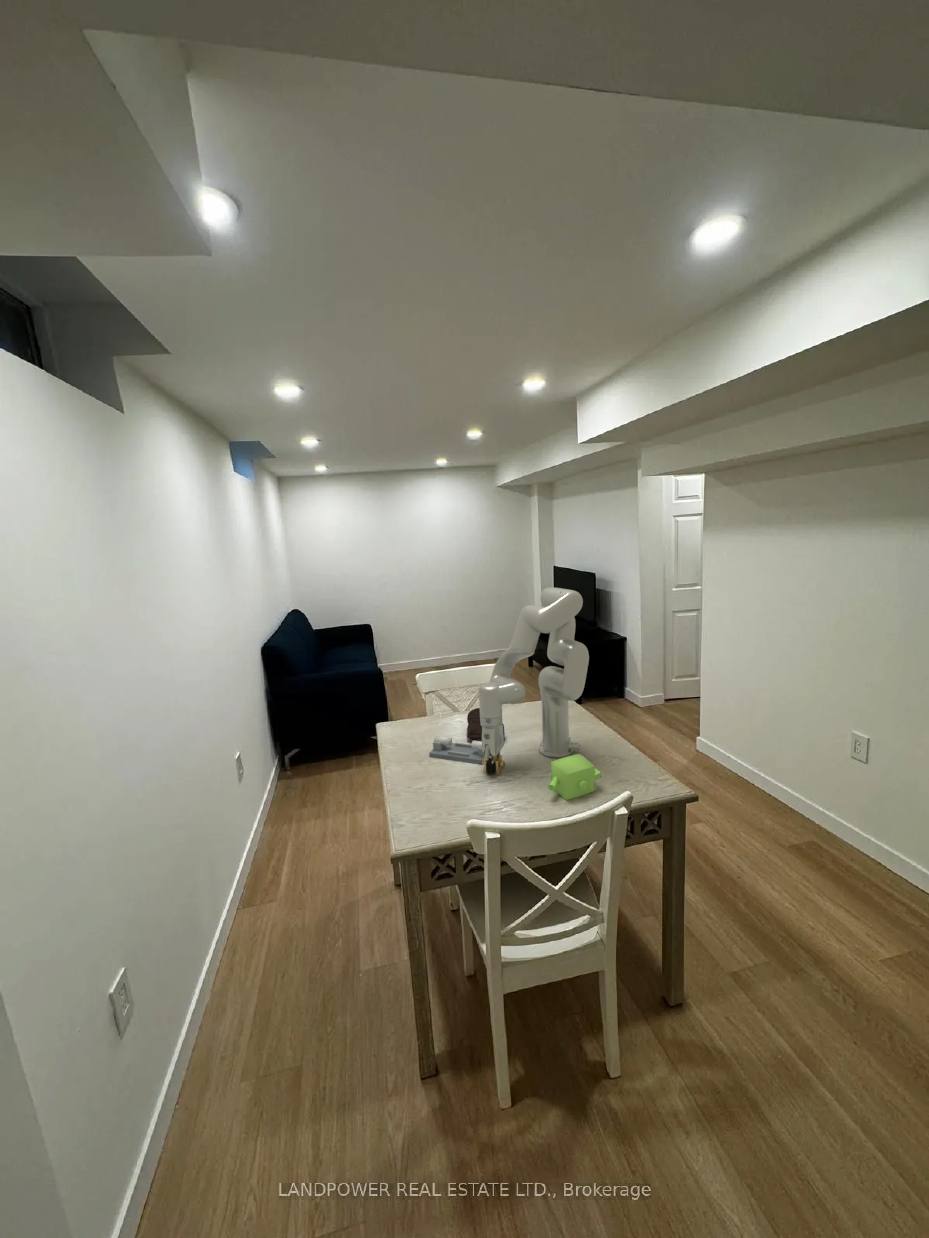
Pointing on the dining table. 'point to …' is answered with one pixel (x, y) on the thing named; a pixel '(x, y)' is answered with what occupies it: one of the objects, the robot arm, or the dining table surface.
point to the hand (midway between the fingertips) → (493, 769)
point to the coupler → (498, 764)
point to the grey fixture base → (457, 750)
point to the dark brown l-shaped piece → (475, 725)
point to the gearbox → (573, 776)
